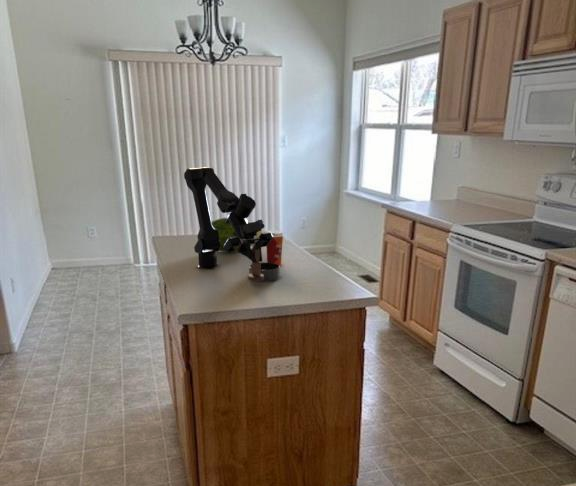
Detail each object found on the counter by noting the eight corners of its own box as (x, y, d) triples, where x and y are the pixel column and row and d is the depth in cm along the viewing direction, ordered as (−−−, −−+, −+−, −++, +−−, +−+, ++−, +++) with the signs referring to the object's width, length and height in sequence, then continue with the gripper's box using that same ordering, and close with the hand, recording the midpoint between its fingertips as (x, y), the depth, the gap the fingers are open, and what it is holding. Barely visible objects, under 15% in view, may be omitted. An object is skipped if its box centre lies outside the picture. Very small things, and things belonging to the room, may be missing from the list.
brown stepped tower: (245, 278, 194) (245, 248, 190) (257, 276, 198) (257, 247, 193) (254, 282, 190) (254, 251, 186) (267, 279, 194) (267, 249, 190)
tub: (244, 279, 202) (244, 268, 201) (255, 272, 213) (255, 261, 211) (273, 282, 199) (274, 271, 198) (282, 275, 210) (283, 263, 208)
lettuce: (267, 252, 245) (268, 218, 239) (211, 256, 236) (209, 221, 230) (257, 245, 258) (257, 213, 252) (203, 249, 248) (201, 215, 243)
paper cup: (281, 268, 219) (281, 234, 214) (263, 266, 220) (263, 233, 215) (285, 263, 226) (285, 230, 221) (267, 262, 228) (267, 229, 222)
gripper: (227, 214, 182) (246, 252, 179) (270, 210, 193) (289, 245, 190) (215, 233, 191) (233, 270, 187) (257, 228, 202) (275, 262, 198)
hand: (258, 261), depth 190 cm, fingers closed on brown stepped tower, 2 cm apart
